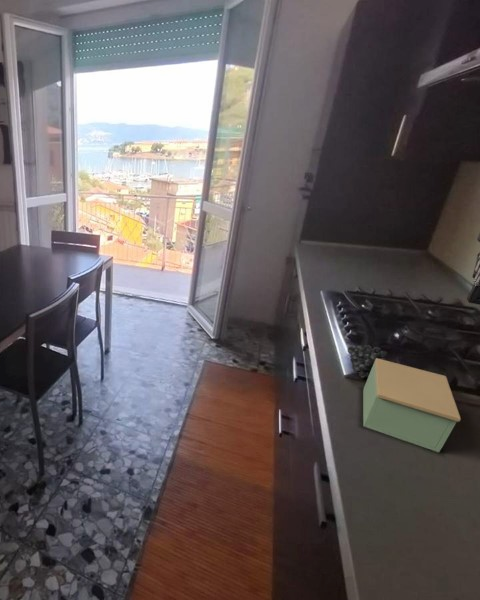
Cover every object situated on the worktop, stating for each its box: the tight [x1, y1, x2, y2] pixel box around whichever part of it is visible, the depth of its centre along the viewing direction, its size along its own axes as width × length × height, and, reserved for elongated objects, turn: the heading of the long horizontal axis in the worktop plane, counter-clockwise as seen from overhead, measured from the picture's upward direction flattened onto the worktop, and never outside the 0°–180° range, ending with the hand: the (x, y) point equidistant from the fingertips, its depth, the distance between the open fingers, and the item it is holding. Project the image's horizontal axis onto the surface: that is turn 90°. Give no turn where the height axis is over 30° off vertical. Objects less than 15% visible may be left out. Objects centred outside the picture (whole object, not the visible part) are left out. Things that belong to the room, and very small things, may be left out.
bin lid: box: [375, 358, 461, 423], centre depth 78 cm, size 16×13×1 cm
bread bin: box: [362, 362, 458, 453], centre depth 80 cm, size 16×13×9 cm
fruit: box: [347, 344, 392, 380], centre depth 97 cm, size 9×8×15 cm
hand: (473, 302), depth 75 cm, fingers closed
